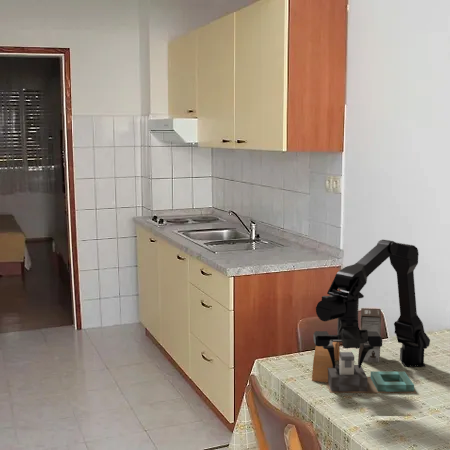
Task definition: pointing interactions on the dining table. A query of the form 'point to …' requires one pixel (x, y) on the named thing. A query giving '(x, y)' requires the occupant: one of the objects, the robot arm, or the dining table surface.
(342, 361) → the plug
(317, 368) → the arch
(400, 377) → the dock
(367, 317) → the coffee box
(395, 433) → the dining table surface
